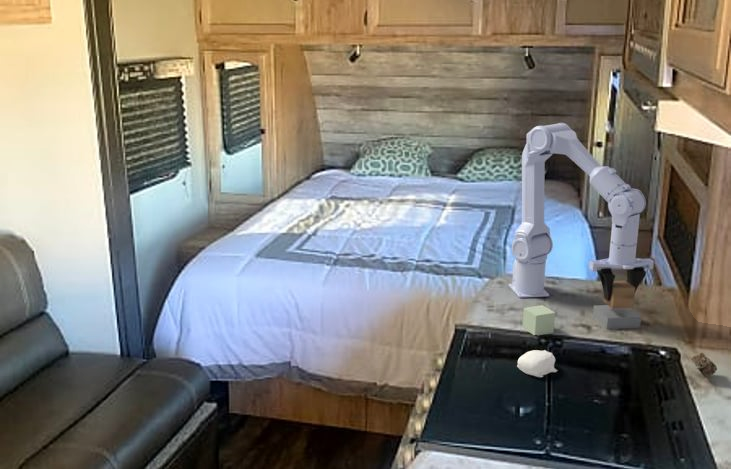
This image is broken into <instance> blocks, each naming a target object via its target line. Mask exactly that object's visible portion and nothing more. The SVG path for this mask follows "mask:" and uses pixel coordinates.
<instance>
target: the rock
mask: <svg viewBox="0 0 731 469" xmlns="http://www.w3.org/2000/svg"><path fill="white" fill-rule="evenodd" d="M689 359H690V360H691V361H692V363H693V364H694V368H695V369H696V370H698V371H699V372H700V374H701V375H702V377H704V378H705V379H707V378H708V377H711V376H712V375H714V374H715V373H716V371H717V370H718V368H717V365H716V364H715V363H714V362H713V361H712V360H711V359H710V358H708V357H707V356H706V355H705V353H703V352H700V353H699V354H697V355H694V356H693V357H689Z"/></svg>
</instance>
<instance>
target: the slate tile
mask: <svg viewBox="0 0 731 469" xmlns="http://www.w3.org/2000/svg"><path fill="white" fill-rule="evenodd" d="M592 316H593V317H594V319H595V320H596V321H598V323H600V325H602V326H603V327H604V328H605V329H606V330H610V329H612V330H613V329H614V330H615V329H633V328H634V329H635V328H636V329H637V328H641V324H642V323H641V322H642V316H641V315H640V314H638V312H636V311H635V310H634V309H633V308H622V309H612V308H611V307H610V306H608V305H607V304H602V305H601V304H600V305H593V310H592Z"/></svg>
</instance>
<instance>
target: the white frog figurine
mask: <svg viewBox="0 0 731 469" xmlns="http://www.w3.org/2000/svg"><path fill="white" fill-rule="evenodd" d="M555 363H556V357H555V356H554V354H553V352H550V351H547V350H546V349H544V350H538V349H536V350H535V349H533V350H530V351H527V352H525V353H524V354H522V355H521V356H520V357H519V358H518V360H517V365H516V367H517V368H518V369H519V370H520V371H522V373H524V374H526V375H529V376H533V377H537V378H543V377H544V376H546V375H548V374H551V373H557V372H558V369H556V368H555Z"/></svg>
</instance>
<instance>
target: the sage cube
mask: <svg viewBox="0 0 731 469" xmlns="http://www.w3.org/2000/svg"><path fill="white" fill-rule="evenodd" d="M522 315H523V316H522V328H523V329H524V330H525V331H527V332H529V333H530V334H532V335H533V336H534V335H537V336H542V335H549V334H554V333H555V332H554V331H555V318H556V312H555V311H553V310H552V309H550V308H548V307H546V306H544V305H543V304H541V305H534V306H528V307H523V314H522Z"/></svg>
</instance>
